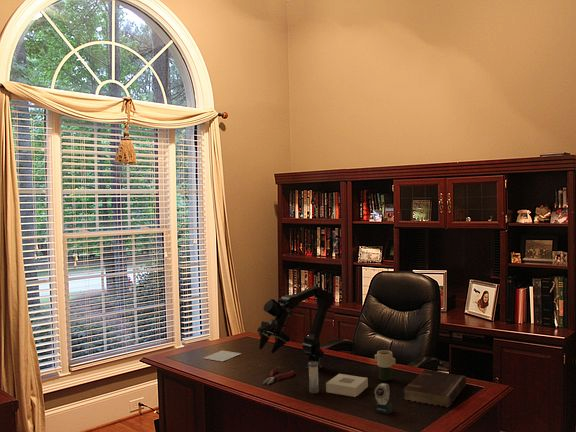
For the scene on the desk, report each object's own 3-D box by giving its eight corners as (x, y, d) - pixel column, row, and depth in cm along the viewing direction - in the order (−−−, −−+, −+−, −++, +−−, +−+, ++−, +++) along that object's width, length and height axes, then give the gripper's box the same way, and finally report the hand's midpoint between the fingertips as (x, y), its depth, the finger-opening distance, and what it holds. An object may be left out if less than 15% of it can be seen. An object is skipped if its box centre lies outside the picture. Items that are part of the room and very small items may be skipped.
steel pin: (311, 389, 240) (310, 360, 239) (321, 390, 237) (320, 361, 237) (307, 392, 236) (306, 363, 235) (316, 394, 233) (315, 364, 233)
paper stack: (255, 356, 293) (255, 355, 293) (226, 369, 272) (226, 368, 272) (222, 351, 306) (222, 350, 306) (192, 363, 285) (192, 362, 285)
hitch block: (339, 382, 248) (339, 373, 248) (367, 386, 241) (367, 377, 241) (326, 392, 236) (325, 383, 236) (355, 397, 229) (355, 387, 229)
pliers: (254, 384, 249) (253, 379, 249) (275, 372, 267) (275, 366, 267) (275, 388, 244) (275, 382, 244) (295, 375, 262) (295, 369, 262)
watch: (372, 413, 210) (372, 386, 210) (381, 407, 217) (380, 380, 217) (386, 416, 207) (385, 388, 207) (394, 409, 214) (393, 382, 214)
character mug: (399, 380, 248) (399, 352, 248) (391, 384, 243) (390, 356, 243) (379, 375, 256) (378, 348, 255) (371, 379, 250) (370, 352, 250)
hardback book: (449, 408, 214) (448, 396, 214) (403, 400, 224) (403, 389, 224) (466, 386, 239) (466, 375, 239) (424, 380, 249) (424, 369, 249)
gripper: (256, 310, 258) (242, 340, 253) (281, 316, 244) (266, 348, 239) (272, 320, 264) (258, 349, 259) (296, 326, 250) (283, 357, 245)
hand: (266, 351), depth 250 cm, fingers open, 9 cm apart
